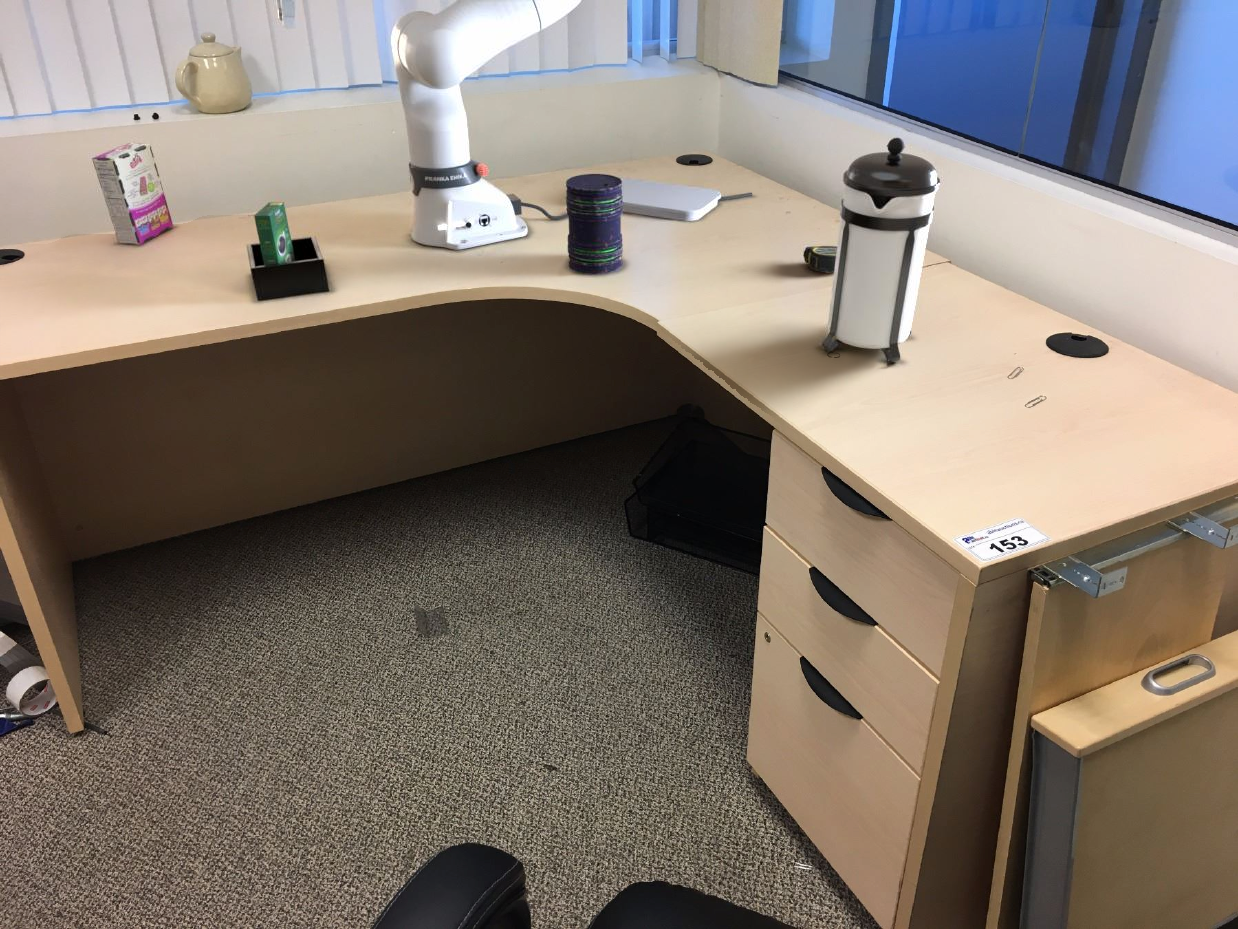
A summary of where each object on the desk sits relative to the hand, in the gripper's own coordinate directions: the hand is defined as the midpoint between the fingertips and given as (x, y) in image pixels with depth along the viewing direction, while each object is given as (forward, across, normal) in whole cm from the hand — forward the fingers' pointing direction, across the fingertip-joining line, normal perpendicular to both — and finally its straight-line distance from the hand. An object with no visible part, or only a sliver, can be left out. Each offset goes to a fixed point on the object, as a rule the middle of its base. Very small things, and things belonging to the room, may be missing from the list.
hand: (286, 24), depth 155 cm
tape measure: (+31, -43, -85) cm, 100 cm away
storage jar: (+34, -26, -48) cm, 64 cm away
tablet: (+32, +3, -72) cm, 79 cm away
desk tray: (+39, -14, +4) cm, 42 cm away
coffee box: (+40, -14, +5) cm, 42 cm away
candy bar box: (+42, +22, +28) cm, 55 cm away
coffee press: (+32, -71, -75) cm, 108 cm away
